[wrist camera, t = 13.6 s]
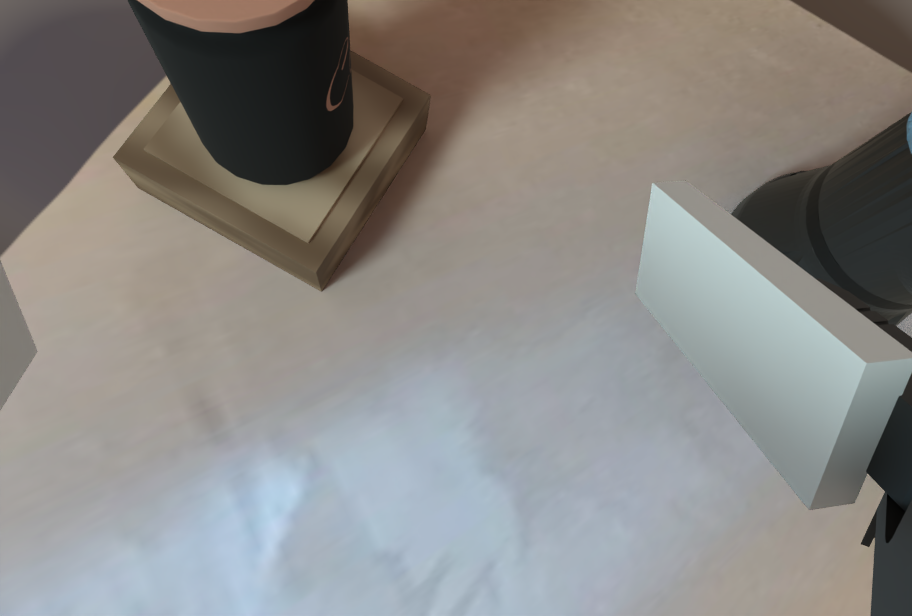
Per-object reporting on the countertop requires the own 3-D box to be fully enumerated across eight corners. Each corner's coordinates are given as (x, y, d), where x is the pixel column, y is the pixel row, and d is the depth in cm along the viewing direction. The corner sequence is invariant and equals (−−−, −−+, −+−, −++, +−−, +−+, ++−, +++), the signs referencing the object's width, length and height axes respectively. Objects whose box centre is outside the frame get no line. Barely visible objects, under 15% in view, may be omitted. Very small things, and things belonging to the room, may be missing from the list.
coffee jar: (365, 183, 47) (359, 11, 29) (208, 202, 45) (104, 32, 28) (343, 50, 49) (325, -181, 32) (193, 64, 47) (88, -173, 30)
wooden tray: (256, 33, 54) (243, -12, 49) (425, 128, 54) (430, 93, 49) (138, 187, 50) (111, 155, 45) (321, 291, 50) (315, 270, 45)
